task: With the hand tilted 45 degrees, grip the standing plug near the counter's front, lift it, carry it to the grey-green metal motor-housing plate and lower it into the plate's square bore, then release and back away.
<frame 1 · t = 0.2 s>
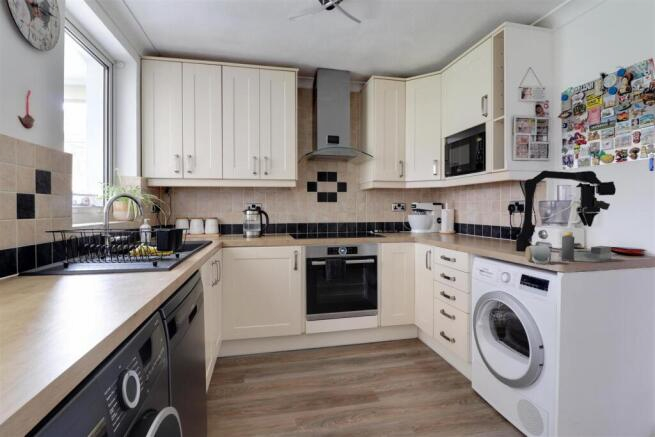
hand: (587, 226, 160), 15 cm above the countertop, tool pointing down, fingers open, 9 cm apart
ceramic mug: (539, 263, 137), on the countertop
plug: (567, 260, 141), on the countertop
housing: (584, 257, 149), on the countertop
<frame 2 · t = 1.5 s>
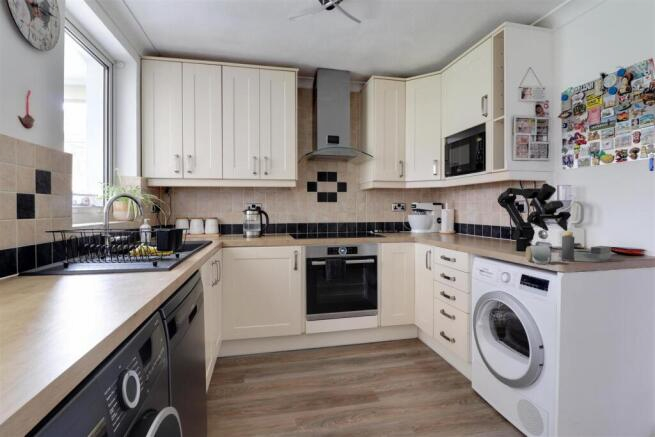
hand: (557, 230, 149), 13 cm above the countertop, tool tilted 45°, fingers open, 9 cm apart
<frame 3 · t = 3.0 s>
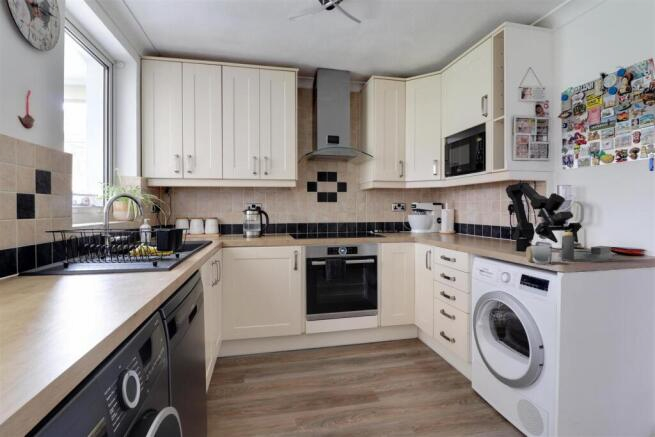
hand: (567, 242, 141), 8 cm above the countertop, tool tilted 45°, fingers open, 9 cm apart
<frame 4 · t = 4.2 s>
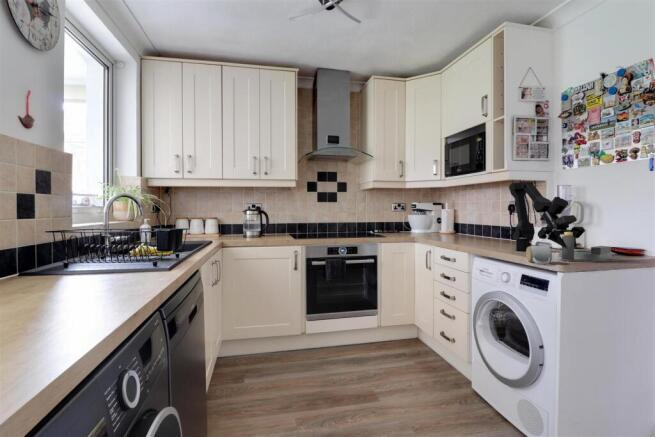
hand: (570, 246, 139), 7 cm above the countertop, tool tilted 45°, fingers closed on plug, 4 cm apart
plug: (567, 260, 141), on the countertop, touching gripper
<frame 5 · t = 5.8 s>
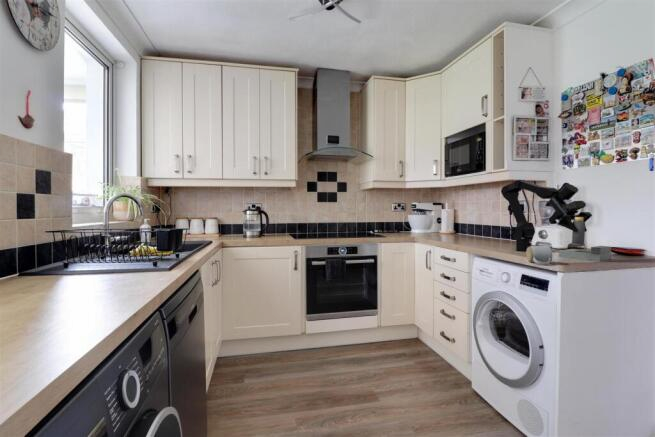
hand: (581, 231, 142), 13 cm above the countertop, tool tilted 45°, fingers closed on plug, 4 cm apart
plug: (577, 245, 144), point 7 cm above the countertop, touching gripper
when the fingers open (7 cm above the countertop, at t = 7.8 s): plug stays where it is, resting in housing.
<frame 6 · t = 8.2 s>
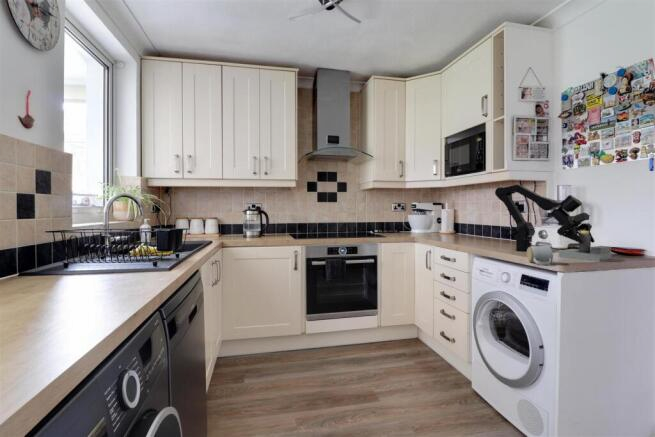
hand: (588, 242, 148), 8 cm above the countertop, tool tilted 45°, fingers open, 9 cm apart
plug: (584, 257, 149), resting in housing
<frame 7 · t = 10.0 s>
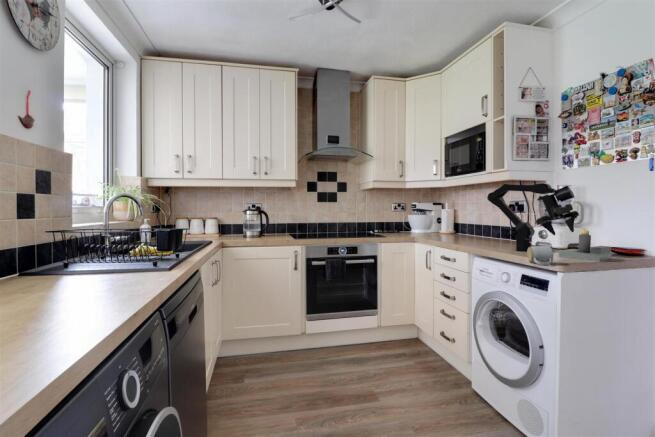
hand: (563, 233, 158), 11 cm above the countertop, tool tilted 25°, fingers open, 9 cm apart
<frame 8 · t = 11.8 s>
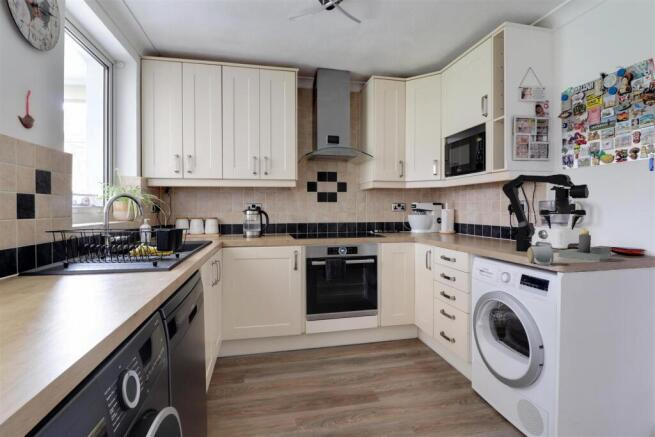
hand: (561, 229, 160), 13 cm above the countertop, tool pointing down, fingers open, 9 cm apart
at the end: plug 0.1 cm off-centre on the housing, point 0.0 cm above the housing's base; plug tilted 0°; the gripper is holding nothing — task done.
